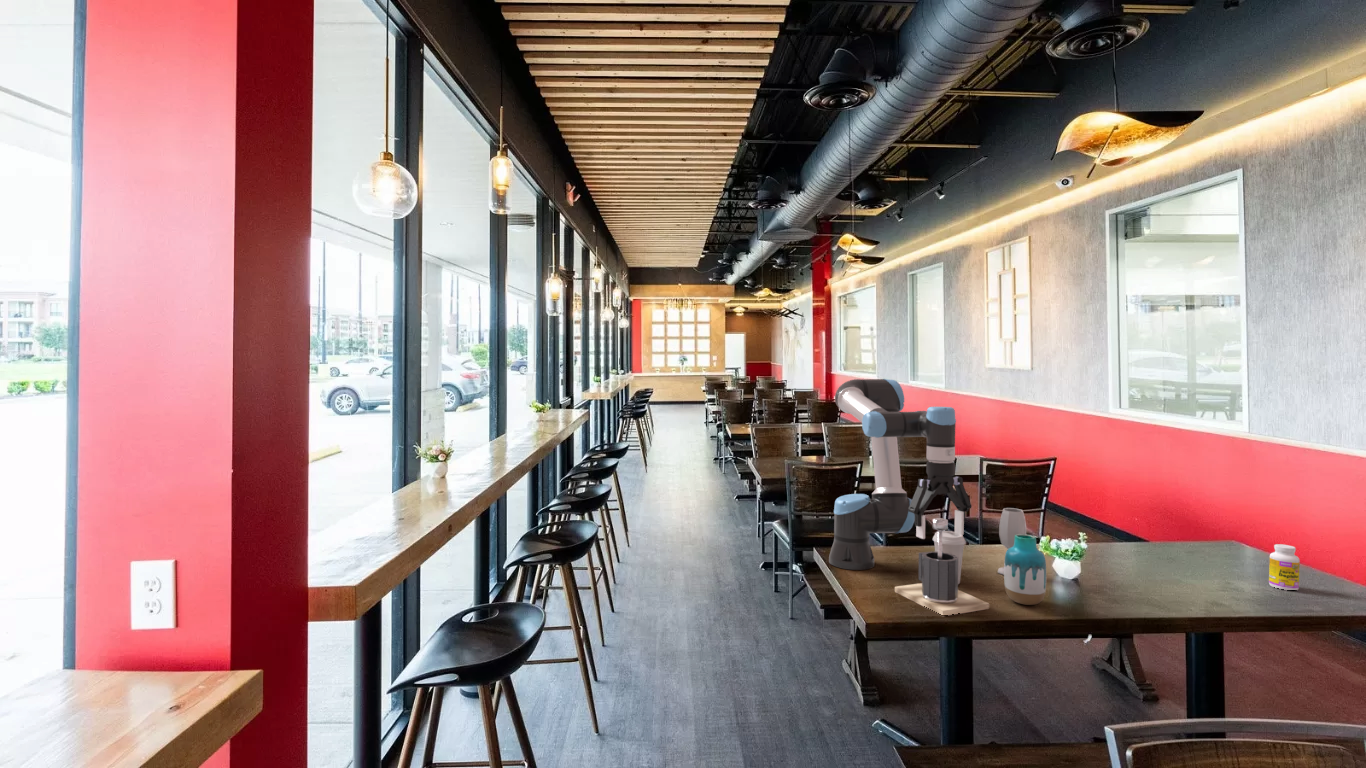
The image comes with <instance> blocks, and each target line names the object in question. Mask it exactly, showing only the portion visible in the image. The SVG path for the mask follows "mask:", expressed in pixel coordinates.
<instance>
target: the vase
mask: <svg viewBox="0 0 1366 768" xmlns="http://www.w3.org/2000/svg"><path fill="white" fill-rule="evenodd" d="M1037 546H1038V545H1037V538H1036V536H1034V535H1031V534H1027V533H1026V534H1017V535H1015V539H1014V546H1013V547H1011V548H1009V549H1006V552H1005V554H1004V561H1003V563H1004V564H1003V565H1004V566H1003V567H1004V575H1003V579H1004V580H1003V581H1004V583H1003V584H1004V590H1005V593H1006V595H1007V596H1008V598H1009V599H1010V600H1011V601H1013V602H1016V603H1018V604H1021V605H1026V606H1033V605H1039V604H1040V603H1041V602H1042V601H1044V599H1045V595H1046V590H1047V562H1046V557H1045V555H1044V553H1043V552H1042V551H1040V550H1039V549H1038V547H1037Z"/></svg>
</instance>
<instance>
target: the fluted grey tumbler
mask: <svg viewBox="0 0 1366 768" xmlns="http://www.w3.org/2000/svg"><path fill="white" fill-rule="evenodd" d="M918 581H920V582H921V583H922V596H923V598H924V599H926V600H928V601H930V602H934V603H940V604H952V603H955V602H957V597H958V590H959V584H958V558H957V556H955V555H952V554H949V553H944V552H942V560H938V552H935V551H934V550H933V551H922V552H918Z"/></svg>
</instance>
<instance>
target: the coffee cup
mask: <svg viewBox="0 0 1366 768" xmlns="http://www.w3.org/2000/svg"><path fill="white" fill-rule="evenodd" d="M963 535H964V534H963ZM963 535H961V534H958V533H955V531H952V530H951V531H950V530H942V552H944V553H949V554H952V555H955V556H957V558H958V585H959V584H960V583H961V574H962V566H963V554H964V546H965V544H966V539H965V538H964V536H963ZM932 541H933V543H934V552H938V531H935V532H934V535H933V536H932Z"/></svg>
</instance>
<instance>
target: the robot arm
mask: <svg viewBox="0 0 1366 768" xmlns="http://www.w3.org/2000/svg"><path fill="white" fill-rule="evenodd" d="M834 400H835V404H836V406H837V407H838V409H839V410H840V411H842V412H843V413H846V414H847V415H848V414H850V415H852V416H853V417H854V418H856V419H857V420H858V421H859V422H860V423H861V427H862V431H863V434H864V435H865V437H866V436H867V437H869V438H871V445H872V458H873V459H872V460H873V470H874V482H875V489H874V491H873V492H872V493H871V498H870V496H869V495H867V494H865V493H851V494H850V493H849V494H844V495H841V496H839V497H837V498H836V499H835V501H834V507H833V508H834V509H833V514H834V517H833V519H834V523H833V525H834V526H833V527H834V528H833V533H834V538H833V543H832V546H831V548H830V552H829V555H828V556H829V557H828V563H829V564H830V565H832V566H833V567H837V568H840V569H844V570H852V571H865V570H870V569H872V568H874V567H875V556H874V553H873V550H872V547H871V544H870V534H899V533H900V534H901V533H907V532H909V531H911V529H912V528H913V526H915V527H916V529H915V530H916V531H915V532H916V533H915V536H916V537H917V538H919V539H921V540H925V539H926V515H924V513H925V511H926V510H927V509H928V507H929V505H930V504H931V503H932V501H933V499H934V498H935V497H936V496H937V495H946V496H947V497H948V498H949V499H950V500H951V502H952V504H953V505H954V506H955V508H956V509H954V532H955V533H958V534H961V535H964V532H965V531H964V528H965V527H964V526H965V525H964V524H965V522H966V513H968V512H969V509H971V508H972V503H971V501H970V498H969V495H968V494H967V491H966V489H965V486H964V479H963V477H960V476H957V475H956V463H955V460H956V425H957V424H956V422H957V419H956V411H955V408H954V407H950V406H930V407H928V408H927V409H926V410H917V411H902V410H903V409H904V406H905V394H904V391H903V388H902V386H901V384H900V383H899V382H898V381H897V380H895V379H887V378H874V379H870V378H867V379H864V378H863V379H861V378H857V379H856V378H855V379H850V380H848V381H845V382H844V383H842V384H841V385H840V386H839V387H838V388H837V390H836V392H835V395H834ZM900 437H901V438H902V437H903V438H922V437H923V438H926V456H925V457H926V460H927V462H926V470H925V473H926V474H927V479H924V478H923V479H922V478H918V479H917V487H916V489H915V492H914V494H913V496H912V498H909V497H908V493H907V492H908V491H905V489H903V487H902V478H901V468H900V457H899V446H898V445H899V444H898V438H900ZM955 475H956V476H955Z"/></svg>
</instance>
